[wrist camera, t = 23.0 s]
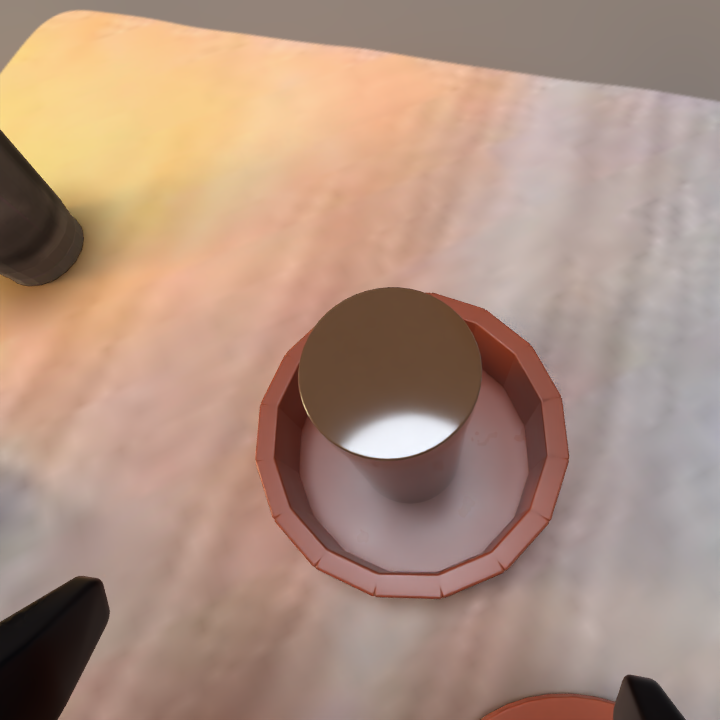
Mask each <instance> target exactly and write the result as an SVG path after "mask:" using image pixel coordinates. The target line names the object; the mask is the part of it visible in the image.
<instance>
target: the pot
mask: <svg viewBox="0 0 720 720" xmlns="http://www.w3.org/2000/svg"><path fill="white" fill-rule="evenodd" d="M426 294H429V295H431V296H433V297H435V298H437V299H439V300H441V301H442V302H444V303H445V304H447V305H448V306H450V307H451V308H452V309H453V310H454V311H455V312H456V313H458V314H459V315H460V317H461V318H462V319H463V320H464V321H465V323H466V324H467V325H468V327H469V328H470V330H471V332H472V333H473V335H474V338H475V340H476V342H477V345H478V348H479V352H480V355H481V362H482V381H481V388H480V393H479V397H478V401H477V404H476V408H475V411H474V414H473V416H472V418H471V420H470V422H469V424H468V426H467V430H466V435H465V439H464V444H463V448H462V452H461V457H460V461H459V466H458V469H457V472H456V474H455V476H454V478H453V480H452V481H451V483H450V484H449V485H448V487H447V488H446V489H445V490H444V491H443V492H441V493H440V494H439V495H437V496H436V497H434V498H432V499H430V500H427V501H424V502H420V503H413V504H407V503H399V502H395V501H392V500H390V499H388V498H386V497H384V496H382V495H381V494H379V493H378V492H377V491H376V490H375V489H374V488H373V487H372V486H371V485H370V484H369V483H368V481H367V480H366V479H365V478H364V477H363V476H362V474H361V473H360V472H359V471H358V470H357V468H356V467H355V466H354V465H353V464H352V463H351V461H350V460H349V459H348V458H347V457H346V456H345V455H344V454H342V453H341V452H340V451H338V450H337V449H336V448H335V447H333V446H332V445H331V444H330V443H329V442H328V441H327V440H326V439H325V437H324V436H323V435H322V434H321V433H320V432H319V431H318V429H317V428H316V427H315V426H314V424H313V423H312V421H311V420H310V418H309V416H308V415H307V413H306V410H305V408H304V406H303V403H302V399H301V396H300V391H299V384H298V370H299V362H300V358H301V354H302V350H303V348H304V345H305V343H306V340H307V338H308V337H309V335H310V333H311V331H312V330H313V329H312V330H310V331H309V332H308V333H307V334H306V335H305V336H304V337H303V338H302V339H301V340H300V341H299V342H298V343H296V344H295V345H294V346H293V347H292V348H291V349H290V350H289V351H288V352H287V353H286V355H285V356H284V358H283V360H282V362H281V364H280V366H279V368H278V370H277V372H276V374H275V376H274V378H273V380H272V382H271V384H270V386H269V388H268V390H267V392H266V394H265V396H264V398H263V400H262V402H261V405H260V412H259V424H258V435H257V446H256V458H255V460H256V466H257V469H258V472H259V475H260V479H261V482H262V485H263V488H264V491H265V495H266V498H267V501H268V504H269V507H270V511H271V514H272V517H273V518H274V519H275V522H276V523H277V525H278V526H279V527H280V528H281V529H282V530H283V532H284V533H285V534H286V535H287V536H288V538H289V539H290V540H291V541H292V542H293V543H294V545H295V546H296V547H297V548H298V549H299V550H300V552H301V553H302V554H303V555H304V556H305V558H306V559H307V560H308V561H309V562H310V563H311V565H312V566H314V567H316V569H317V570H319V571H322V572H324V573H326V574H328V575H330V576H332V577H334V578H336V579H338V580H340V581H342V582H344V583H346V584H348V585H350V586H352V587H355V588H357V589H359V590H361V591H363V592H365V593H367V594H369V595H371V596H375V597H388V598H425V599H441V598H442V597H443V598H446V597H448V596H451V595H453V594H455V593H458V592H460V591H462V590H465V589H467V588H469V587H472V586H474V585H476V584H479V583H481V582H483V581H486V580H488V579H490V578H493V577H495V576H497V575H500V574H502V573H503V572H504V571H506V570H508V569H509V567H510V566H511V565H512V564H513V563H514V562H515V561H516V560H517V559H518V557H519V556H520V555H521V554H522V553H523V552H524V551H525V550H526V548H527V547H528V546H529V545H530V544H531V543H532V542H533V541H534V539H535V538H536V537H537V536H538V535H539V534H540V533H541V532H542V531H543V529H544V528H545V527H546V526H547V525H548V524H549V521H550V520H551V518H552V515H553V512H554V508H555V505H556V502H557V498H558V495H559V492H560V489H561V485H562V482H563V479H564V476H565V472H566V469H567V466H568V462H569V460H568V459H569V451H568V443H567V435H566V427H565V419H564V411H563V403H562V398H561V395H560V394H559V392H558V390H557V388H556V387H555V385H554V383H553V381H552V380H551V378H550V376H549V375H548V373H547V371H546V369H545V368H544V366H543V364H542V363H541V361H540V359H539V357H538V356H537V354H536V352H535V350H534V349H533V347H532V346H530V344H529V343H528V342H527V341H525V340H524V339H523V338H521V337H520V336H519V335H518V334H516V333H515V332H514V331H512V330H511V329H510V328H509V327H507V326H506V325H505V324H504V323H502V322H501V321H500V320H498V319H497V318H496V317H495V316H493V315H492V314H491V313H490V312H488V311H487V310H485V309H483V308H480V307H477V306H474V305H471V304H467V303H464V302H461V301H458V300H455V299H451V298H448V297H445V296H442V295H439V294H435V293H426Z"/></svg>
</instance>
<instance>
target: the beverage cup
mask: <svg viewBox="0 0 720 720" xmlns="http://www.w3.org/2000/svg"><path fill="white" fill-rule="evenodd" d="M83 239H84V238H83V232H82V228H81V226H80V225H79V223H78V222H77V220H76V219H75V218H74V217H73V216H72V215H71V214H70V213H69V211H68V210H67V209H66V207H65V206H64V204H63V203H62V201H61V200H60V198H59V197H58V196H57V195H56V194H55V193H54V191H53V190H52V189H51V188H50V187H49V186H48V184H47V183H46V182H45V181H44V180H43V179H42V177H41V176H40V175H39V174H38V173H37V172H36V171H35V169H34V168H33V167H32V166H31V165H30V164H29V162H28V161H27V160H26V159H25V158H24V157H23V155H22V154H21V153H20V152H19V151H18V150H17V148H16V147H15V146H14V145H13V144H12V143H11V141H10V140H9V139H8V138H7V137H6V136H5V134H4V133H3V132H2V131H1V130H0V274H1V275H3V276H5V277H7V278H10V279H12V280H13V281H15V282H16V283H18V284H22V285H26V286H35V285H42V284H45V283H48V282H50V281H53V280H55V279H56V278H58V277H59V276H61V275H62V274H64V273H65V272H66V271H67V270H68V269H69V268H70V267H71V266H72V265H73V264H74V262H75V261H76V259H77V257H78V256H79V254H80V252H81V249H82V244H83Z"/></svg>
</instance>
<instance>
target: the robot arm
mask: <svg viewBox="0 0 720 720" xmlns="http://www.w3.org/2000/svg"><path fill="white" fill-rule="evenodd" d="M109 614H110V609H109V605H108V601H107V597H106V593H105V589H104V586H103V583H102V581H101V580H100V579H98V578H93V577H87V576H78V577H75V578H73V579H72V580H70V581H68V582H67V583H65V584H63V585H62V586H60V587H58V588H56V589H55V590H53V591H51V592H50V593H48V594H46V595H45V596H43V597H41V598H40V599H38V600H36V601H35V602H33V603H31V604H30V605H28V606H26V607H25V608H23V609H21V610H20V611H18V612H16V613H14V614H13V615H11V616H9V617H8V618H6V619H4V620H3V621H1V622H0V720H58V718H59V716H60V714H61V713H62V711H63V709H64V707H65V706H66V704H67V702H68V700H69V698H70V696H71V694H72V692H73V690H74V688H75V686H76V684H77V682H78V680H79V678H80V677H81V675H82V673H83V671H84V669H85V667H86V665H87V663H88V661H89V659H90V657H91V655H92V653H93V651H94V649H95V647H96V645H97V643H98V641H99V639H100V637H101V635H102V633H103V631H104V629H105V627H106V625H107V622H108V619H109ZM613 720H686V719H685V718H684V717H683V716H682V714H681V713H680V712H679V710H678V709H677V708H676V706H675V705H674V704H673V702H672V701H671V700H670V698H669V697H668V696H667V694H666V693H665V692H664V691H663V689H662V688H661V687H660V685H659V684H658V683H657V682H656V681H654V680H653V679H650V678H645V677H640V676H634V675H627V676H625V677H624V679H623V681H622V684H621V687H620V690H619V693H618V696H617V700H616V703H615V706H614V711H613Z"/></svg>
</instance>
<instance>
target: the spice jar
mask: <svg viewBox="0 0 720 720" xmlns="http://www.w3.org/2000/svg"><path fill="white" fill-rule="evenodd" d="M481 381H482V362H481V355H480V352H479V348H478V345H477V342H476V340H475V338H474V335H473V333H472V332H471V330H470V328H469V327H468V325H467V324H466V323H465V321H464V320H463V319H462V318H461V317H460V315H459V314H458V313H456V312H455V311H454V310H453V309H452V308H451V307H450V306H448V305H447V304H445V303H444V302H442V301H441V300H439V299H437V298H435V297H433V296H431V295H429V294H426V293H423V292H421V291H417V290H413V289H407V288H399V287H387V288H378V289H373V290H368V291H364V292H362V293H359V294H356V295H354V296H352V297H349V298H347V299H345V300H344V301H342V302H341V303H339V304H337V305H336V306H335V307H333V308H332V309H331V310H330V311H328V312H327V313H326V314H325V315H324V316H323V317H322V318H321V319H320V320H319V322H318V323H317V324H316V326H315V327H314V328H313V330H312V331H311V333H310V335H309V337H308V338H307V340H306V343H305V345H304V348H303V350H302V354H301V358H300V362H299V370H298V384H299V391H300V396H301V399H302V403H303V406H304V408H305V410H306V413H307V415H308V416H309V418H310V420H311V421H312V423H313V424H314V426H315V427H316V428H317V429H318V431H319V432H320V433H321V434H322V435H323V436H324V437H325V439H326V440H327V441H328V442H329V443H330V444H331V445H332V446H333V447H335V448H336V449H337V450H338V451H340V452H341V453H342V454H344V455H345V456H346V457H347V458H348V459H349V460H350V461H351V463H352V464H353V465H354V466H355V467H356V468H357V470H358V471H359V472H360V473H361V474H362V476H363V477H364V478H365V479H366V480H367V481H368V483H369V484H370V485H371V486H372V487H373V488H374V489H375V490H376V491H377V492H378V493H379V494H381V495H382V496H384V497H386V498H388V499H390V500H392V501H395V502H399V503H407V504H413V503H420V502H424V501H427V500H430V499H432V498H434V497H436V496H437V495H439V494H440V493H441V492H443V491H444V490H445V489H446V488H447V487H448V485H449V484H450V483H451V481H452V480H453V478H454V476H455V474H456V472H457V469H458V466H459V461H460V457H461V452H462V448H463V444H464V439H465V435H466V430H467V426H468V424H469V422H470V420H471V418H472V416H473V414H474V411H475V408H476V404H477V401H478V397H479V393H480V388H481Z"/></svg>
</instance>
